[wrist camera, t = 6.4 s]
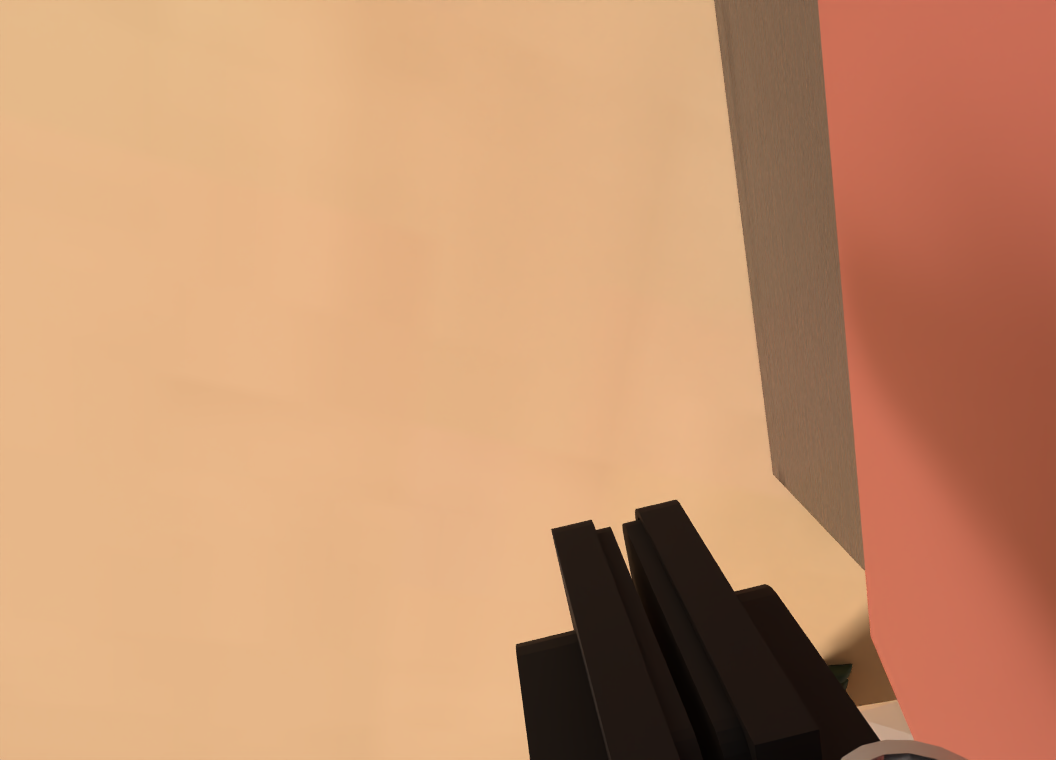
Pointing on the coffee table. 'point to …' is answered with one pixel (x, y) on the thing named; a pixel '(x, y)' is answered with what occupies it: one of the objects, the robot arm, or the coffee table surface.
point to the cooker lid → (952, 353)
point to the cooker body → (793, 252)
